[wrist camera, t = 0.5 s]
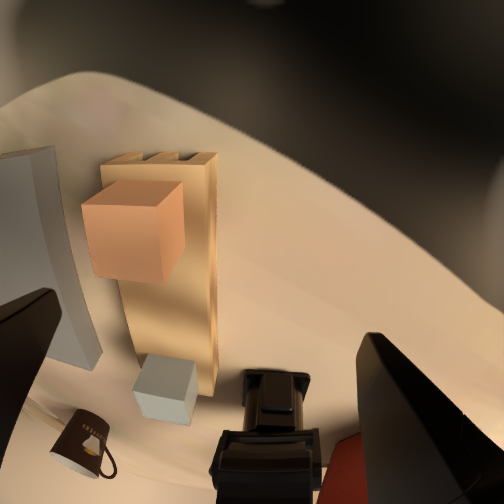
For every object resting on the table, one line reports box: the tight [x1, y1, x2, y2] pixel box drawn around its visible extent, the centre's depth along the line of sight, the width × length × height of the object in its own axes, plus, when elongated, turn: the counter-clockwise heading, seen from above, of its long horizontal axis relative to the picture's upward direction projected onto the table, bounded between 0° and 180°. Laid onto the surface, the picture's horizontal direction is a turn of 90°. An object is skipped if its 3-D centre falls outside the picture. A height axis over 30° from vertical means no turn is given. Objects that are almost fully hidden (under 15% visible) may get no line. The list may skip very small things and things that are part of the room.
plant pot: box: [316, 433, 368, 504], centre depth 27 cm, size 19×19×17 cm
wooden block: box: [100, 152, 219, 397], centre depth 22 cm, size 20×6×4 cm, turn 177°
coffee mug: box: [50, 409, 117, 479], centre depth 36 cm, size 12×9×10 cm
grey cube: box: [133, 353, 199, 426], centre depth 22 cm, size 4×4×4 cm
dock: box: [0, 146, 103, 371], centre depth 23 cm, size 22×12×3 cm, turn 177°
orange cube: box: [81, 180, 185, 285], centre depth 15 cm, size 4×4×4 cm
